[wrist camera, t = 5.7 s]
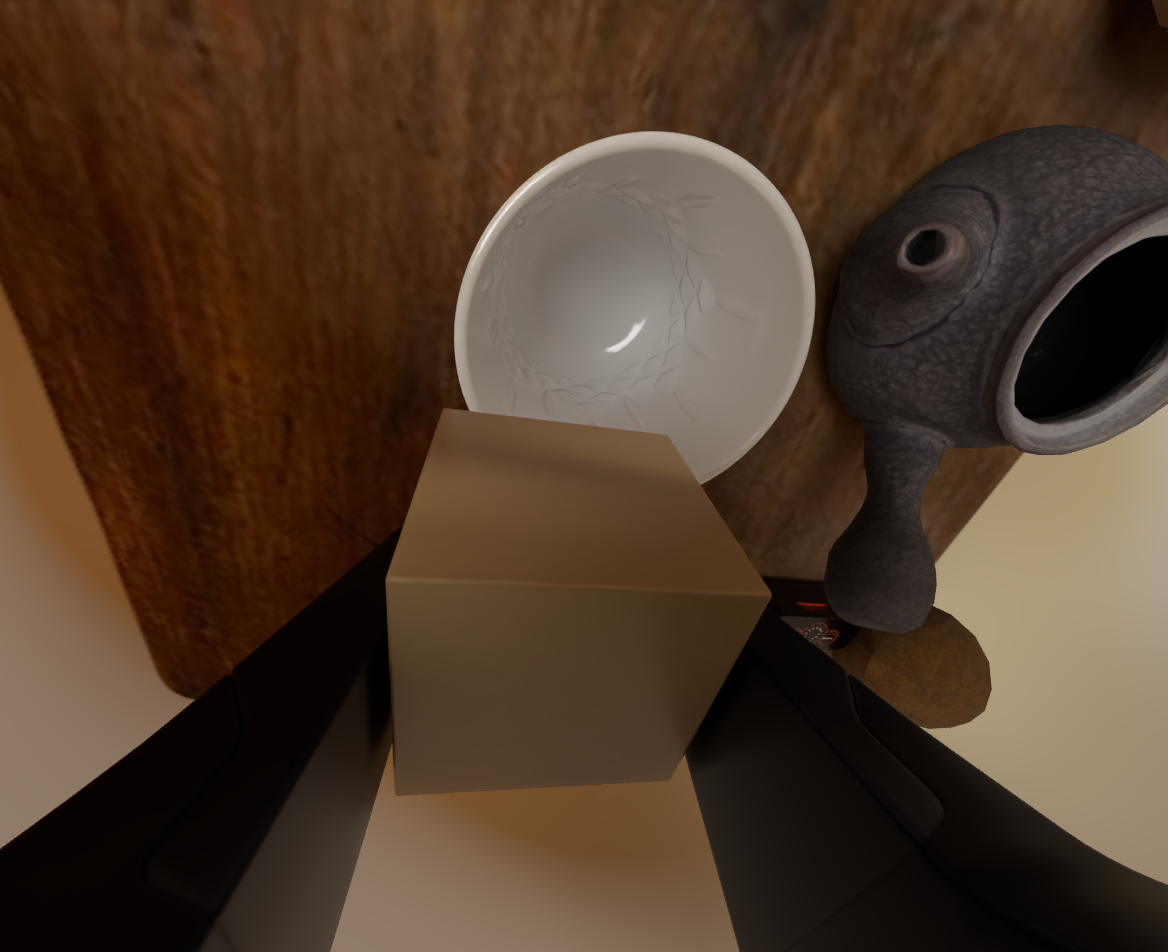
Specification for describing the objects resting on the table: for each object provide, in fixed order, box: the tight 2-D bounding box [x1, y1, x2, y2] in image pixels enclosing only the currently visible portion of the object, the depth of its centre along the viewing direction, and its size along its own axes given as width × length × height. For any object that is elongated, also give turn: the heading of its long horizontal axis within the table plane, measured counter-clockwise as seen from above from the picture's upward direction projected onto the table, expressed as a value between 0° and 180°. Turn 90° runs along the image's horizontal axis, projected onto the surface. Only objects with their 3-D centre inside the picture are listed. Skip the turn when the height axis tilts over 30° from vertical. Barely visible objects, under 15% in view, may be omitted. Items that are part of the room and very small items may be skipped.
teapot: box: [824, 125, 1168, 634], centre depth 17 cm, size 19×15×10 cm
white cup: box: [454, 131, 815, 485], centre depth 14 cm, size 8×8×10 cm
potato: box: [832, 606, 992, 729], centre depth 30 cm, size 8×12×8 cm
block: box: [385, 408, 771, 796], centre depth 7 cm, size 4×4×4 cm
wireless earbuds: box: [764, 581, 861, 650], centre depth 29 cm, size 5×7×3 cm, turn 77°
